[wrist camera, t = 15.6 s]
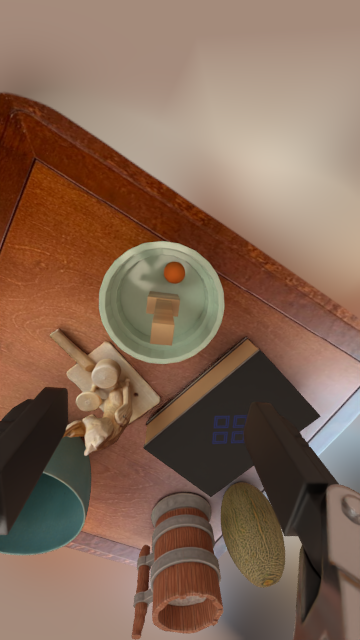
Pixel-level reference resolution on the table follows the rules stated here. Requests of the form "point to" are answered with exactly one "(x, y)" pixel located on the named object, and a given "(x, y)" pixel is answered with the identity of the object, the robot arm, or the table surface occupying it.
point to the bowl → (148, 275)
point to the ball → (174, 272)
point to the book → (222, 417)
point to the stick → (162, 316)
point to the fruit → (252, 534)
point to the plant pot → (53, 503)
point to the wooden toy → (105, 393)
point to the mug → (179, 568)
